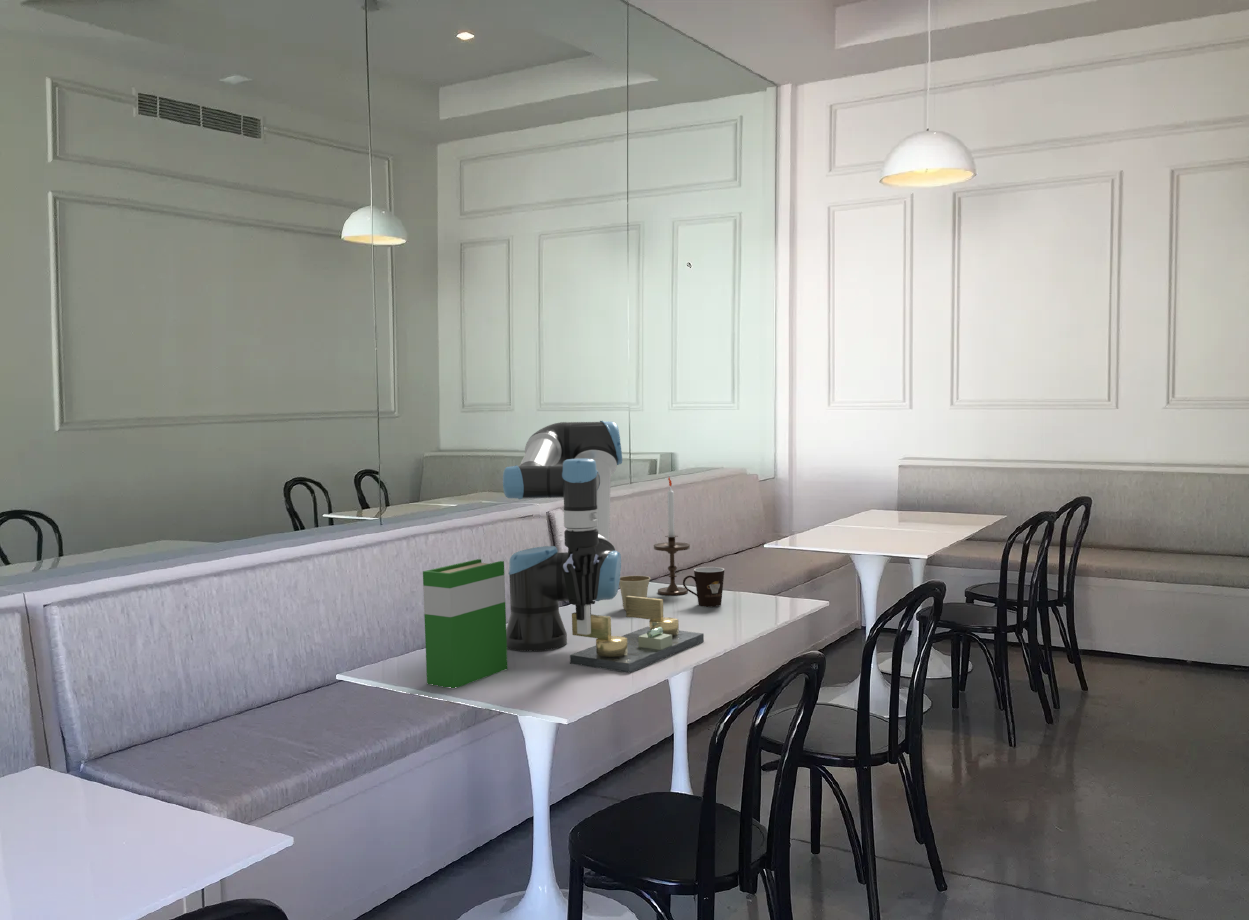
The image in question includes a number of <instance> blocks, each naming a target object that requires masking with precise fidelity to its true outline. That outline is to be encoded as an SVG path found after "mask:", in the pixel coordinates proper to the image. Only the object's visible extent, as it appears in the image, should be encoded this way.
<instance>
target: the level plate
mask: <svg viewBox="0 0 1249 920" xmlns="http://www.w3.org/2000/svg"><path fill="white" fill-rule="evenodd" d="M662 633H663V628H662V627H658V628H655V629H652V630H650V626H646V627H643V628H640V629H637V630H635V631H632V632H629V633H626V634H624V635H621V636H622V637H625V638H627V645H628V653H627V654H625V655H622V656H616V657H605V656H599V655H597V654H596V645H592V646H590V647H587V648H584V649H583V650H579V651H577V652H574V653H571V654H569V664H571V665H576V666H583V667H590V668H596V669H602V670H610V671H616V672H623V673H629V674H630V673H632V672H634V671H637V670H640V669H641V668H642V669H643V668H644V667H646V666H649V665H652V664H653V663H656V662H658V661H661V660H663V659H665V658H668V657H670V656H673V655H675V654H677V653H680V652H682V651H685V650H687V649H689V648H692V647H695V646H698V645H699V644H702V643H704V641H705V640H704V639H705V638H704V637H705V636H704V633H702V632H695V631H687V630H679V633H678V634H677V635H673V636H672V635H669V634H662Z"/></svg>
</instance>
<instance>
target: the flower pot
mask: <svg viewBox="0 0 1249 920" xmlns="http://www.w3.org/2000/svg"><path fill="white" fill-rule="evenodd" d="M650 580H651V577H650V576H646V575H625V576H620V582H619V588H620V590H619V591H620V593H621V594H620V595H621V600H622V607H623V610H625V611H626V596H636V597H645V598H648V589H649V584H650Z"/></svg>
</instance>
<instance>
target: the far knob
mask: <svg viewBox="0 0 1249 920" xmlns="http://www.w3.org/2000/svg"><path fill="white" fill-rule="evenodd" d="M625 617H626V618H632V619H633V618H634V619H643V620H649V623H648V624H649V626H648V627H650V630H652V629H655V628H658V627H662V628H663V633H662V634H669V635H672V636H673V635H677V634H678V633H679V631H680V629H679V622H680V621H679V619H678V618H675V617H667V616H665V617H664V599H662V598H656V597H655V598H654V597H647V598H645V597H636V596H626V610H625Z"/></svg>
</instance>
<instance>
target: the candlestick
mask: <svg viewBox="0 0 1249 920" xmlns="http://www.w3.org/2000/svg"><path fill="white" fill-rule="evenodd" d="M667 481H668V484H669V485H668V486H669V489H668V491H667V524H668V529H667V530H668V533H667V534H668V535H665V538H667V542H660V543H655V544H654V545H653V550H655V551H659V552H660V551H661V552H666V553H667V554H669V565H668V566H667V571H669V575H668V578H670V579H669V580H670V581H669V582H670V583H669V584H668V586H666V587H665V586H664V587H660V588H658V589H657V594H658V595H661V596H668V597H669V596H671V597H672V596H673V597H675V596H676V597H677V596H683V595H687V594H688V593H689V591H688V590H687V589H686V588H685V587H684V586H683V587H681V586H677V584H676V578H677V575H676V571H677V570H678V567H677V565H675V554H677V552H682V551H687V550H690V549H691V544H690V543H688V542H679V541H678V542H676V538H677V537H679V536H678V535H676V534H675V529H676V527H675V526H676V525H675V493H674V492H675V491H673V488H672V484H673V483H672V480H671V478H670V476H668V479H667Z"/></svg>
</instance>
